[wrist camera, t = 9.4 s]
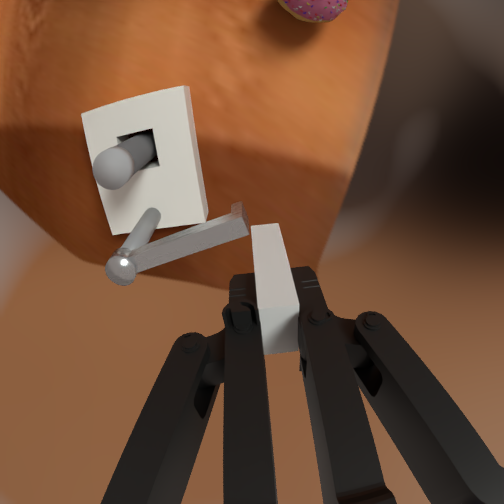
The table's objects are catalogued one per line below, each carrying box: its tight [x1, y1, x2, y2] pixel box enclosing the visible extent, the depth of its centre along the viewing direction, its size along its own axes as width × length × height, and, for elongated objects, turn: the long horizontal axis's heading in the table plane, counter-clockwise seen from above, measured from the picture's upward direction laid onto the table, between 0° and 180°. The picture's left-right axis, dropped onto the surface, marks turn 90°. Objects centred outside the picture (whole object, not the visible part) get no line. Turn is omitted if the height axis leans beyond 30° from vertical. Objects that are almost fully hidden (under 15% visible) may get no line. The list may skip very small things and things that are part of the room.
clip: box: [105, 201, 249, 286], centre depth 26 cm, size 15×3×4 cm, turn 109°
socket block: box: [81, 86, 208, 250], centre depth 30 cm, size 18×14×15 cm
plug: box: [93, 131, 157, 190], centre depth 30 cm, size 4×4×12 cm
